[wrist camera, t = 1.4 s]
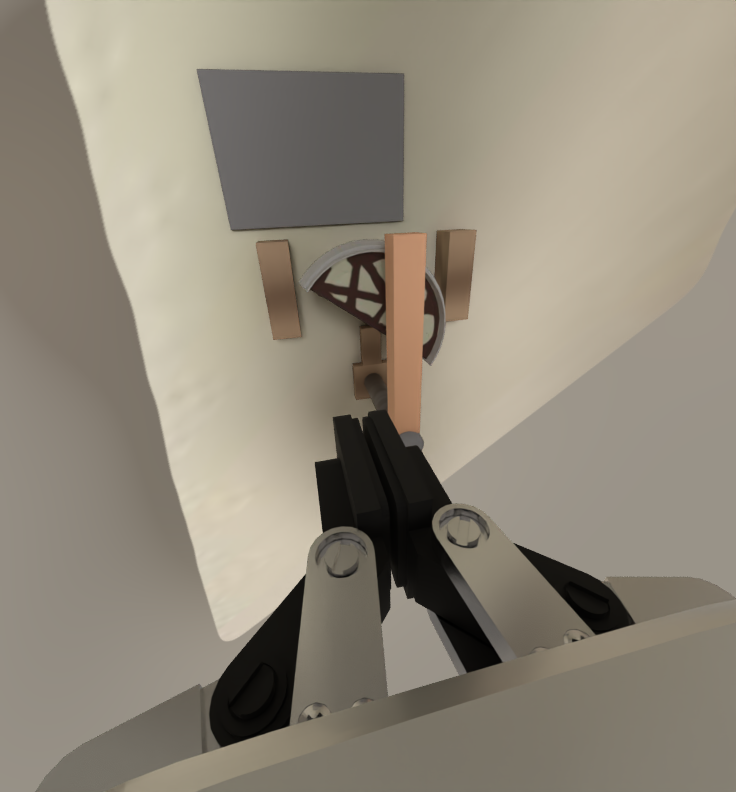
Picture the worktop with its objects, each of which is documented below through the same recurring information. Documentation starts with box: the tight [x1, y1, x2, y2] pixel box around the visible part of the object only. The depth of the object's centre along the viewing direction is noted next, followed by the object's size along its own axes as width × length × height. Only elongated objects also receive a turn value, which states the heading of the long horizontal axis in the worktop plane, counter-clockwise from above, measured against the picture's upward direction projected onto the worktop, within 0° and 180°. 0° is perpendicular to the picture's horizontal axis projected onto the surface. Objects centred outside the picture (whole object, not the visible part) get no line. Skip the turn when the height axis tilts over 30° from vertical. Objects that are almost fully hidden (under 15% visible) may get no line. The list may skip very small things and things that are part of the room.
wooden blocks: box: [256, 229, 476, 412], centre depth 30 cm, size 16×19×10 cm
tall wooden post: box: [385, 232, 427, 451], centre depth 24 cm, size 16×3×2 cm, turn 3°
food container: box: [299, 239, 446, 366], centre depth 28 cm, size 12×6×10 cm, turn 57°
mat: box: [197, 69, 404, 230], centre depth 27 cm, size 10×15×1 cm, turn 93°
